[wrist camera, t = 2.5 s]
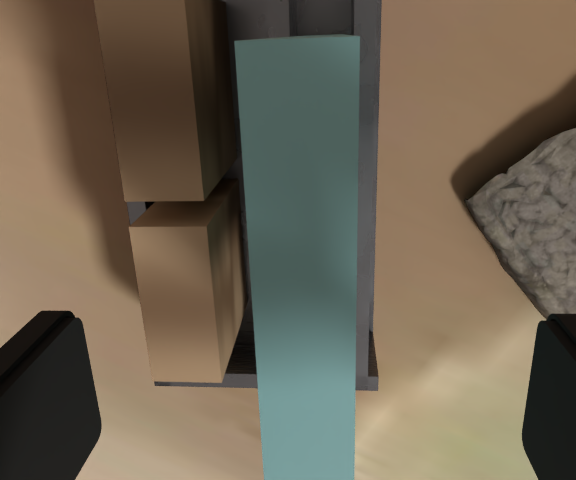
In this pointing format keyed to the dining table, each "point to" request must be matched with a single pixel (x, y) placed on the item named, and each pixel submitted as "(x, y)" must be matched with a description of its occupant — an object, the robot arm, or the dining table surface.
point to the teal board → (302, 246)
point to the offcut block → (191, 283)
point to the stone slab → (535, 223)
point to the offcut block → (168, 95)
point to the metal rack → (367, 24)
